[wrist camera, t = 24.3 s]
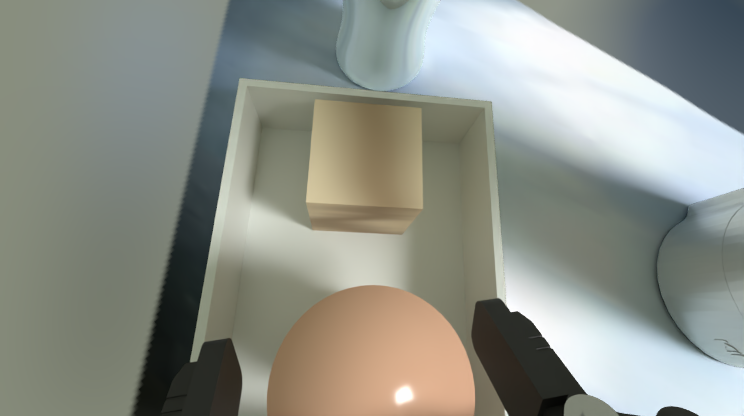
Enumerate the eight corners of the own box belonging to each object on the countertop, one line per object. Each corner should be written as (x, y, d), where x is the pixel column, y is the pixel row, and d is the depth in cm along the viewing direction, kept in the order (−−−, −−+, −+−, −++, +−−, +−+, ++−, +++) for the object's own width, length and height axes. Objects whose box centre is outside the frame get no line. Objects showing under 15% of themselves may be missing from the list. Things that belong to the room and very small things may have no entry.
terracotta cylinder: (386, 290, 19) (438, 264, 10) (413, 389, 18) (504, 472, 8) (293, 315, 18) (249, 314, 9) (315, 421, 17) (290, 555, 7)
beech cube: (312, 230, 20) (305, 202, 15) (319, 148, 21) (314, 99, 16) (402, 234, 20) (423, 208, 15) (402, 154, 22) (421, 107, 17)
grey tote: (259, 129, 22) (239, 77, 17) (459, 145, 23) (491, 101, 19) (214, 438, 17) (168, 483, 12) (471, 440, 18) (519, 483, 14)
